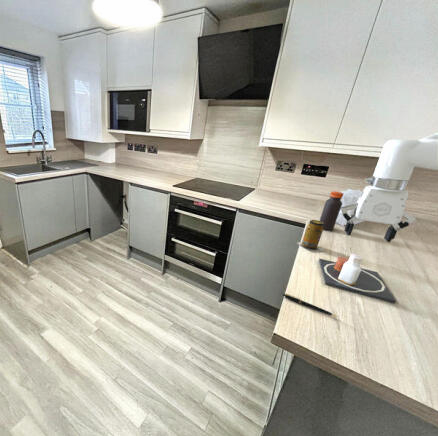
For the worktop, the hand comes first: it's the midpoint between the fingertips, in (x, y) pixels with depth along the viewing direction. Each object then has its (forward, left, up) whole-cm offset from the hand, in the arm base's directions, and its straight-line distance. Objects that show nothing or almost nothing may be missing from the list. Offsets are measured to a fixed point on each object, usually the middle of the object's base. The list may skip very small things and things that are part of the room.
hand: (366, 236), depth 75 cm
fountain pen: (+13, +21, -18) cm, 31 cm away
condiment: (+9, -25, -18) cm, 32 cm away
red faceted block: (+1, -8, -17) cm, 19 cm away
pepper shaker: (0, 0, -17) cm, 17 cm away
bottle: (0, -55, -18) cm, 58 cm away
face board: (-2, -4, -18) cm, 18 cm away
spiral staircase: (-11, -75, -18) cm, 78 cm away
